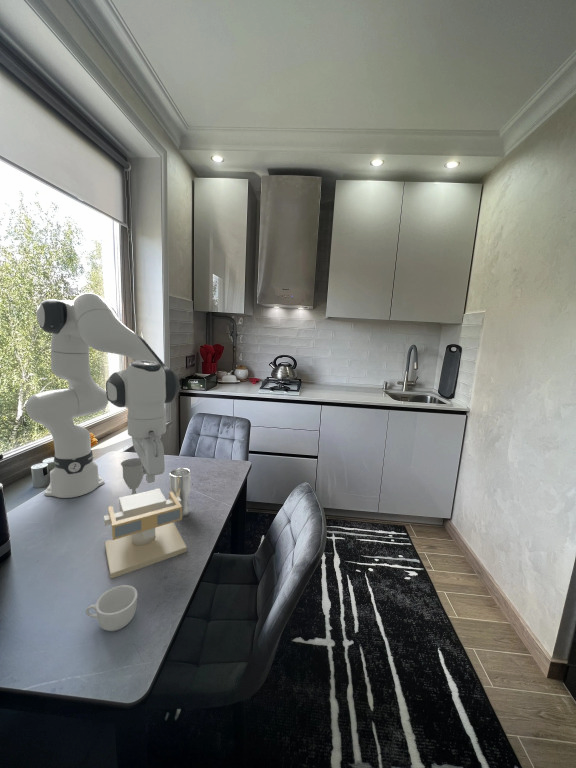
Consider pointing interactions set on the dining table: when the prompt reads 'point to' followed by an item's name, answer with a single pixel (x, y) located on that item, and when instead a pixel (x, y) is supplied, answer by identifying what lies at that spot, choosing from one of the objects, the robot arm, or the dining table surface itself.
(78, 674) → the dining table surface
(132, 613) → the teacup
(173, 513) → the tan open angular frame
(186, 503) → the beer glass
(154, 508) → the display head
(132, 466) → the chalice
